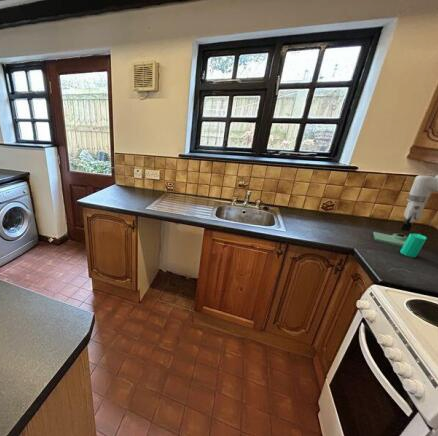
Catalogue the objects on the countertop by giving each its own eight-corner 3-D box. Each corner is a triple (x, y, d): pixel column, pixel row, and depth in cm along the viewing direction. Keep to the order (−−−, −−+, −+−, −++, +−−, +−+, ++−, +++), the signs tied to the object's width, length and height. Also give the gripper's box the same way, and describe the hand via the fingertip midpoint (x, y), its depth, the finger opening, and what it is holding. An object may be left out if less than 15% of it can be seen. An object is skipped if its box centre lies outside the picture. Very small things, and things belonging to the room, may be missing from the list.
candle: (413, 253, 125) (425, 232, 120) (418, 258, 120) (430, 237, 115) (398, 249, 127) (409, 229, 122) (402, 254, 123) (413, 233, 118)
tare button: (403, 236, 138) (404, 233, 138) (404, 237, 136) (405, 235, 135) (396, 234, 140) (397, 231, 139) (397, 236, 138) (398, 233, 137)
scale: (404, 240, 139) (406, 235, 138) (409, 248, 130) (411, 243, 129) (372, 233, 147) (374, 229, 146) (374, 240, 138) (376, 235, 137)
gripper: (431, 203, 122) (417, 236, 128) (424, 196, 133) (411, 227, 140) (410, 200, 126) (398, 232, 133) (405, 194, 137) (393, 224, 144)
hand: (405, 230), depth 136 cm, fingers closed
